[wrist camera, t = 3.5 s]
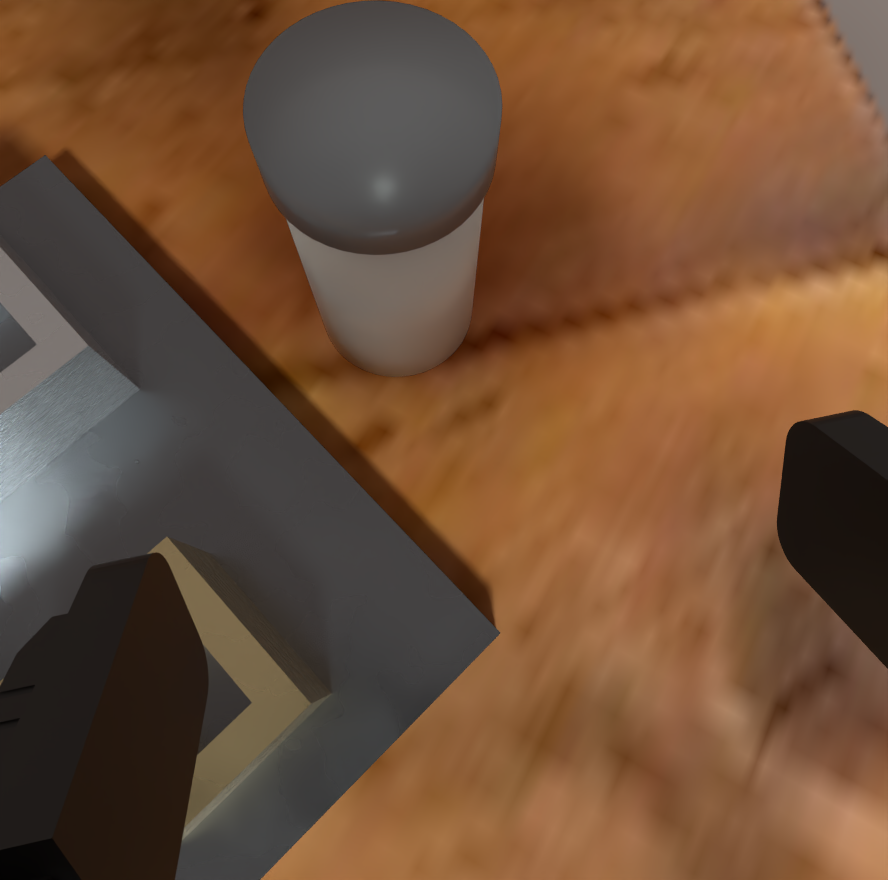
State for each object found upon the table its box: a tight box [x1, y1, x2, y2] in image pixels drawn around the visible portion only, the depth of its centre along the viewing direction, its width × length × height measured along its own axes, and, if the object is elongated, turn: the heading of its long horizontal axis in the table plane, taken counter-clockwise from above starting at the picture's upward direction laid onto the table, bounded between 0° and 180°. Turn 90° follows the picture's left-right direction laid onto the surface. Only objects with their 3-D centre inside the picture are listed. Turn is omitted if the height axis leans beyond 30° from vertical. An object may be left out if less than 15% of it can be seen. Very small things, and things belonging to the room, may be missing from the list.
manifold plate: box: [0, 155, 500, 880], centre depth 21 cm, size 23×15×5 cm, turn 44°
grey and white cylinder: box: [243, 1, 502, 377], centre depth 21 cm, size 6×6×10 cm
